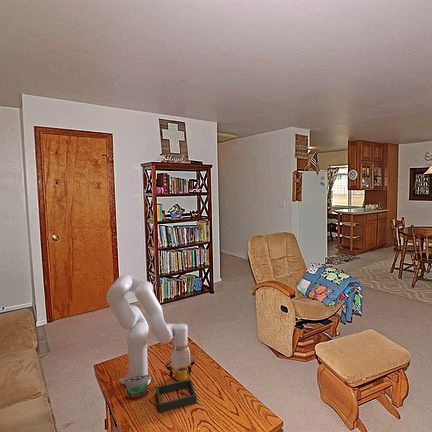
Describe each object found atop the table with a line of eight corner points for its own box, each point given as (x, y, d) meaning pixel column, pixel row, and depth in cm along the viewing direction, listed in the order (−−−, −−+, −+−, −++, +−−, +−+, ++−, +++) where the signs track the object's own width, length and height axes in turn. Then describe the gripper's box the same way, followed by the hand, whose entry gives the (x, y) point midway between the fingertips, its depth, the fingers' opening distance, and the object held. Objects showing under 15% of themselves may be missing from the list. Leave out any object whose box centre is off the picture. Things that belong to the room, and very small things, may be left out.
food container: (124, 403, 170) (123, 384, 169) (123, 396, 176) (123, 378, 175) (150, 397, 176) (150, 378, 175) (149, 390, 181) (149, 372, 180)
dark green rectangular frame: (159, 412, 165) (159, 404, 164) (156, 393, 179) (156, 386, 178) (196, 402, 172) (196, 395, 172) (191, 385, 186) (190, 379, 186)
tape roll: (176, 382, 189) (176, 373, 189) (174, 375, 195) (174, 367, 195) (188, 379, 192) (188, 370, 192) (186, 373, 198) (186, 365, 198)
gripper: (165, 352, 185) (165, 382, 186) (197, 346, 192) (197, 375, 194) (163, 346, 191) (163, 374, 193) (194, 340, 199) (194, 368, 201)
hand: (180, 375), depth 193 cm, fingers open, 9 cm apart
